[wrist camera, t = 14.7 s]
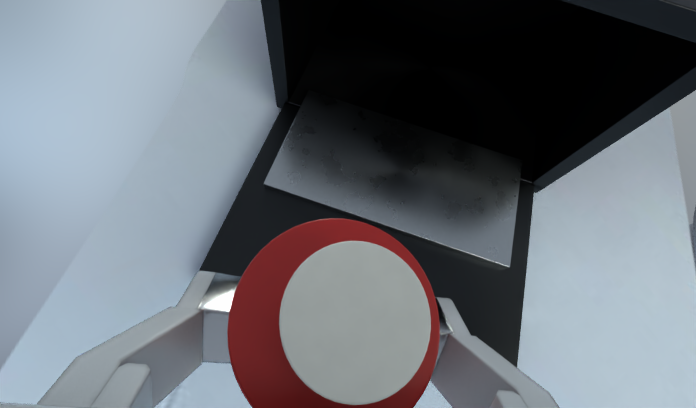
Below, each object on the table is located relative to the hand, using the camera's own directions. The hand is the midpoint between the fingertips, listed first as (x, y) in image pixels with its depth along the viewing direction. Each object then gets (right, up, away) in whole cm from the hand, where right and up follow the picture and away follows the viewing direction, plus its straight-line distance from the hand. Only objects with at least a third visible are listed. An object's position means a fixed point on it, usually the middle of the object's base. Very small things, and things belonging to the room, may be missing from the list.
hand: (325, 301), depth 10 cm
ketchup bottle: (-1, -3, +5) cm, 6 cm away
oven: (+7, +10, +26) cm, 29 cm away
